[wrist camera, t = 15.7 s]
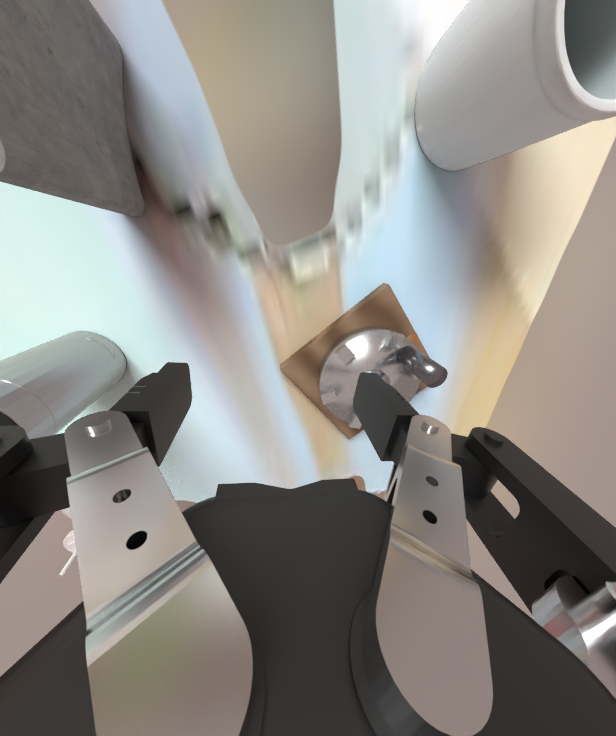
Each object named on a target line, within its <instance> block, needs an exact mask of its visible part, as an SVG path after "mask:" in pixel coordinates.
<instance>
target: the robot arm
mask: <svg viewBox="0 0 616 736" xmlns="http://www.w3.org/2000/svg"><path fill="white" fill-rule="evenodd" d="M125 372H126V360H125V357H124V355H123V353H122V352H121V350H120V349H119V348H118V347H117V346H116V345H115V344H114V343H113V342H112V341H110V340H108V339H107V338H105V337H103V336H101V335H99V334H95V333H92V332H85V331H79V332H73V333H69V334H67V335H64V336H62V337H59V338H57V339H54V340H52V341H49V342H46V343H44V344H41V345H39V346H36V347H34V348H31V349H29V350H26V351H24V352H21V353H19V354H17V355H14V356H12V357H9V358H7V359H4V360H2V361H0V583H1V582H2V581H3V579H4V578H5V577H6V575H7V574H8V573H9V571H10V570H11V569H12V567H13V566H14V565H15V564H16V562H17V561H18V559H19V558H20V557H21V556H22V554H23V553H24V552H25V550H26V549H27V548H28V546H29V545H30V544H31V542H32V541H33V540H34V538H35V537H36V536H37V534H38V533H39V532H40V531H41V529H42V528H43V527H44V525H45V524H46V523H47V521H48V520H49V519H50V517H51V516H52V515H53V514H54V512H55V511H58V510H62V509H65V508H69V507H70V510H71V517H72V524H73V531H74V538H75V545H76V552H77V558H78V565H79V572H80V580H81V587H82V593H83V602H81V604H79V605H78V606H77V607H76V608H75V609H74V610H73V611H72V612H70V613H69V614H68V615H67V616H66V617H65V618H64V619H63V620H62V621H61V622H60V623H59V624H57V626H55V627H54V628H53V629H52V630H51V631H50V632H49V633H48V634H47V635H45V636H44V637H43V638H42V639H41V640H40V641H39V642H38V643H37V644H36V645H35V646H33V647H32V648H31V649H30V650H29V651H28V652H27V653H26V654H25V655H24V656H23V657H22V658H20V659H19V660H18V661H17V662H16V663H15V664H14V665H13V666H12V667H11V668H9V669H8V670H7V671H6V672H5V673H4V674H3V675H2V676H1V677H0V736H616V528H615V527H614V526H613V525H611V524H610V523H609V522H608V521H607V520H605V519H604V518H603V517H602V516H601V515H599V514H598V513H597V512H596V511H595V510H593V509H592V508H591V507H590V506H589V505H587V504H586V503H585V502H584V501H582V500H581V499H580V498H579V497H578V496H576V495H575V494H574V493H573V492H572V491H570V490H569V489H568V488H567V487H565V486H564V485H563V484H562V483H560V482H559V481H558V480H557V479H556V478H555V477H553V476H552V475H551V474H550V473H548V472H547V471H546V470H545V469H544V468H543V467H541V466H540V465H539V464H538V463H536V462H535V461H534V460H533V459H531V458H530V457H529V456H528V455H527V454H526V453H524V452H523V451H522V450H521V449H520V448H518V447H517V446H516V445H515V444H513V443H512V442H511V441H510V440H508V439H507V438H506V437H504V436H503V435H501V434H499V433H497V432H495V431H492V430H489V429H486V428H481V427H476V428H473V429H472V430H471V432H470V434H469V436H468V437H465V436H461V435H456V434H451V432H450V430H449V428H448V427H447V426H446V425H445V424H443V423H442V422H440V421H439V420H437V419H435V418H432V417H429V416H426V415H419V414H418V412H417V411H416V410H415V409H414V408H413V407H412V406H411V405H410V404H409V403H408V402H407V401H405V398H404V397H403V396H402V395H400V393H399V392H398V391H397V390H396V389H395V388H394V387H392V386H391V385H389V384H388V383H386V382H385V381H384V380H383V379H382V378H381V377H380V376H379V375H378V374H377V373H371V372H361V373H360V375H359V378H358V382H357V386H356V390H355V394H354V398H353V408H354V411H355V413H356V415H357V417H358V419H359V421H360V422H361V424H362V426H363V428H364V430H365V432H366V434H367V436H368V437H369V439H370V441H371V443H372V445H373V447H374V449H375V450H376V452H377V454H378V456H379V458H380V460H381V461H393V462H394V465H393V468H392V471H391V474H390V478H389V482H388V485H387V489H386V493H385V496H384V500H383V499H381V498H379V497H377V496H375V495H373V494H371V493H368V492H365V491H361V490H358V488H357V485H356V483H355V480H354V479H333V480H321V481H318V482H315V483H311V484H308V485H304V486H301V487H298V488H294V489H285V488H279V487H274V486H269V485H264V484H258V483H237V484H218V488H217V492H216V496H215V497H212V498H209V499H206V500H204V501H201V502H199V503H197V504H195V505H193V506H191V507H189V508H188V509H186V510H185V511H183V512H181V511H180V509H179V507H178V505H177V503H176V501H175V499H174V497H173V495H172V493H171V491H170V489H169V488H168V486H167V484H166V482H165V480H164V478H163V476H162V474H161V472H160V470H159V468H158V466H160V465H161V463H162V461H163V459H164V457H165V455H166V453H167V451H168V449H169V447H170V445H171V443H172V441H173V439H174V437H175V435H176V433H177V432H178V430H179V428H180V426H181V424H182V422H183V420H184V418H185V416H186V414H187V412H188V410H189V408H190V406H191V401H192V391H191V381H190V371H189V366H188V364H187V363H173V362H168V363H166V364H165V365H164V366H163V367H162V369H161V370H160V371H159V372H158V373H152V374H150V375H148V376H146V377H143V378H142V379H140V380H139V381H138V382H137V383H136V384H135V385H134V387H132V388H131V389H130V390H129V391H128V393H126V394H125V395H124V396H123V397H122V398H121V399H120V400H119V401H118V402H117V403H116V404H115V405H114V406H113V407H112V408H111V409H110V410H109V411H103V412H98V413H94V414H90V415H87V416H85V417H82V418H80V419H78V420H77V421H75V422H73V423H72V424H71V425H70V426H68V428H67V429H66V430H65V433H62V434H57V435H55V434H56V433H58V432H59V431H60V430H61V429H62V428H64V427H65V426H66V425H67V424H68V423H69V422H71V421H72V420H73V419H74V418H75V417H77V416H78V415H79V414H80V413H81V412H82V411H84V410H85V409H86V408H87V407H88V406H90V405H91V404H92V403H93V402H94V401H95V400H97V399H98V398H99V397H100V396H101V395H102V394H104V393H105V392H106V391H107V390H109V389H110V388H111V387H112V386H113V385H114V384H116V383H117V382H118V381H119V380H120V379H121V378H122V377H123V376H124V374H125ZM497 480H499V481H500V482H501V483H502V484H503V485H504V486H505V487H506V488H507V489H508V490H509V491H510V492H511V493H512V494H513V495H514V497H515V498H516V499H517V501H518V503H519V506H520V512H519V515H518V516H517V517H516V519H514V518H513V517H512V516H511V514H510V513H509V512H508V511H507V510H506V509H505V508H504V507H503V505H502V504H501V503H500V502H499V501H498V499H497V498H496V497H495V496H494V495H493V494H492V493H491V489H492V488H493V486H494V485H495V483H496V481H497ZM466 519H467V520H468V522H469V523H470V524H471V526H472V528H473V529H474V531H475V532H476V533H477V535H478V536H479V538H480V539H481V541H482V542H483V544H484V545H485V546H486V548H487V549H488V551H489V552H490V554H491V555H492V557H493V558H494V560H495V561H496V563H497V564H498V565H499V567H500V568H501V570H502V571H503V573H504V574H505V576H506V577H507V579H508V580H509V582H510V583H511V584H512V586H513V587H514V589H515V590H516V592H517V593H518V595H519V596H520V597H521V599H522V600H523V602H524V603H525V605H526V606H527V608H528V609H529V611H530V612H531V614H532V615H533V617H534V620H535V621H534V620H533V619H532V618H530V617H529V616H528V615H527V614H526V613H524V612H523V611H522V610H521V609H519V608H518V607H517V606H516V605H514V604H513V603H512V602H511V601H510V600H508V599H507V598H506V597H505V596H503V595H502V594H501V593H499V592H498V591H497V590H496V589H495V588H493V587H492V586H491V585H489V583H487V582H486V581H485V580H484V579H482V578H481V577H480V576H479V575H477V574H476V573H475V572H474V571H472V570H471V567H470V557H469V547H468V535H467V524H466Z"/></svg>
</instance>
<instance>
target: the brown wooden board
mask: <svg viewBox="0 0 616 736" xmlns="http://www.w3.org/2000/svg"><path fill="white" fill-rule="evenodd" d="M372 326H378V327H385V328H389V329H392V330H394V331H396V332H398V333H402V334H403V335H405V337H406V338H407V339H409V340H410V341H411V342H412V343H413V344H414V345H415V346H416V348H417V349H418V351H419V352H421V353H422V354H424V355H425V356H427V357H429V356H428V354H427V352H426V350H425V349H424V347H423V345H422V343H421V341H420V340H419V338H418V336H417V334H416V332H415V331H414V329H413V327H412V325H411V323H410V322H409V320H408V318H407V316H406V314H405V313H404V311H403V309H402V307H401V305H400V304H399V302H398V300H397V298H396V296H395V295H394V293H393V291H392V289H391V287H390V286H389V284H385V283H383V284H382V285H380V286H379V287H378V288H377V289H375V290H374V291H373V292H371V293H370V294H369V295H368V296H366V297H365V298H364V299H363V300H361V301H360V302H359V303H358V304H356V305H355V306H354V307H352V308H351V309H350V310H349V311H347V312H346V313H345V314H344V315H342V316H341V317H340V318H339V319H337V320H336V321H335V322H334V323H332V324H331V325H330V326H328V327H327V328H326V329H325V330H323V331H322V332H321V333H320V334H318V335H317V336H316V337H315V338H313V339H312V340H311V341H310V342H308V343H307V344H306V345H304V346H303V347H302V348H301V349H299V350H298V351H297V352H296V353H294V354H293V355H292V356H291V357H289V358H288V359H287V360H286V361H284V362H283V363H282V364H280V369H281V371H282V372H283V373H284V374H285V375H286V376H287V377H288V378H289V379H290V380H291V381H292V382H293V383H294V384H295V385H296V386H297V387H298V388H299V389H300V390H301V391H302V392H303V393H304V394H305V395H306V396H307V397H308V398H309V399H310V400H311V401H312V402H313V403H314V404H315V405H316V406H317V407H318V408H319V409H320V410H321V411H322V412H323V413H324V414H325V415H326V416H327V417H328V418H329V419H330V420H331V421H332V422H333V423H334V424H335V425H336V426H337V428H338V429H339V430H340V431H341V432H342V433H343V434H344V435H345V436H346V437H347V438H348V439H350V438H352V437H353V436H355V435H356V434H357V433H359V432H360V431H362V430H363V429H364V428H363V426H362V425H361V427H360V429H357V428H350V427H349V424H348V422H345V421H342V420H341V419H339V418H337V417H336V416H334V415H333V414H332V413H331V412H330V411H329V410H328V408H327V407H326V405H325V404H324V405H323V403H322V399H321V395H320V390H319V385H318V373H319V368H320V365H321V362H322V360H323V358H324V356H325V354H326V353H327V351H328V350H329V349H330V348H331V346H332V345H333V344H334V343H335V342H336V341H338V340H339V339H340V338H341V337H343V336H345V335H346V334H348V333H350V332H352V331H354V330H357V329H360V328H364V327H372ZM425 387H427V385H425V384H424V383H423V382H422V381H421V382H420V385H419V387H418V389H417V391H416V393H418V392H419V391H421V390H422V389H424V388H425ZM416 393H415V394H416Z"/></svg>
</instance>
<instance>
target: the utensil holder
mask: <svg viewBox="0 0 616 736" xmlns="http://www.w3.org/2000/svg"><path fill="white" fill-rule="evenodd" d="M614 116H616V0H470V1H469V2H468V3H467V4H466V6H465V7H464V8H463V10H462V11H461V12H460V14H459V15H458V16H457V18H456V19H455V20H454V22H453V23H452V25H451V26H450V27H449V29H448V30H447V31H446V33H445V34H444V35H443V36H442V38H441V39H440V40H439V42H438V43H437V45H436V46H435V48H434V49H433V51H432V53H431V55H430V56H429V58H428V60H427V62H426V64H425V67H424V70H423V72H422V75H421V78H420V81H419V85H418V90H417V95H416V102H415V124H416V131H417V136H418V140H419V143H420V145H421V148H422V150H423V151H424V153H425V155H426V156H427V158H428V159H429V160H430V161H431V162H432V163H433V164H434V165H436V166H438V167H439V168H442V169H445V170H450V171H455V170H461V169H465V168H468V167H471V166H474V165H477V164H480V163H483V162H486V161H489V160H491V159H494V158H497V157H500V156H502V155H505V154H508V153H510V152H513V151H516V150H518V149H521V148H523V147H526V146H528V145H531V144H534V143H536V142H539V141H542V140H544V139H547V138H550V137H552V136H555V135H557V134H560V133H563V132H565V131H568V130H571V129H573V128H576V127H578V126H581V125H583V124H586V123H588V122H591V121H597V120H603V119H607V118H611V117H614Z"/></svg>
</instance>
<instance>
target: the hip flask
mask: <svg viewBox="0 0 616 736" xmlns="http://www.w3.org/2000/svg"><path fill="white" fill-rule="evenodd" d="M0 181H1V182H4V183H8V184H12V185H16V186H19V187H23V188H27V189H31V190H34V191H38V192H42V193H46V194H49V195H53V196H57V197H61V198H64V199H68V200H72V201H76V202H80V203H83V204H87V205H91V206H95V207H98V208H102V209H106V210H110V211H113V212H117V213H121V214H125V215H128V216H132V217H138V216H140V215H142V214H143V212H144V210H145V202H144V199H143V196H142V193H141V190H140V187H139V183H138V180H137V176H136V172H135V168H134V164H133V159H132V154H131V149H130V143H129V137H128V131H127V124H126V117H125V107H124V95H123V55H122V50H121V47H120V45H119V43H118V41H117V39H116V38H115V36H114V35H113V33H112V32H111V31H110V29H109V28H108V26H107V25H106V24H105V22H104V21H103V19H102V18H101V17H100V15H99V14H98V12H97V11H96V10H95V8H94V7H93V5H92V4H91V3H90V1H89V0H0Z"/></svg>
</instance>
